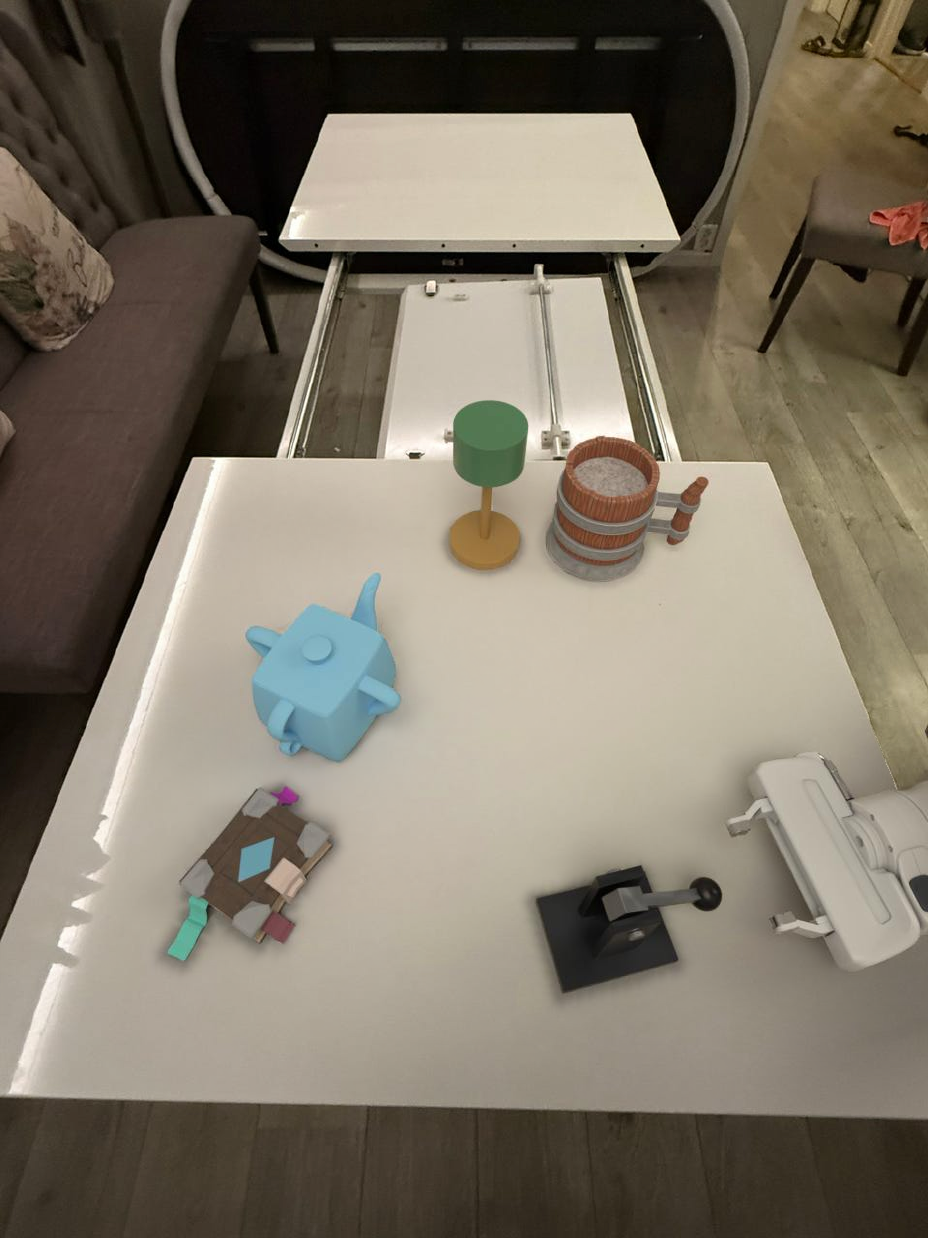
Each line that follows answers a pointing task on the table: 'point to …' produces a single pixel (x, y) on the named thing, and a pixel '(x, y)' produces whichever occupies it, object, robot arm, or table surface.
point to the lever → (661, 899)
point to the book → (252, 870)
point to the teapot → (324, 677)
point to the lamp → (487, 480)
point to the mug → (613, 508)
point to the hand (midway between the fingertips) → (750, 875)
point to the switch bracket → (602, 933)
